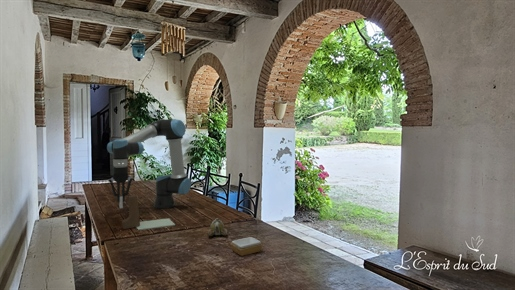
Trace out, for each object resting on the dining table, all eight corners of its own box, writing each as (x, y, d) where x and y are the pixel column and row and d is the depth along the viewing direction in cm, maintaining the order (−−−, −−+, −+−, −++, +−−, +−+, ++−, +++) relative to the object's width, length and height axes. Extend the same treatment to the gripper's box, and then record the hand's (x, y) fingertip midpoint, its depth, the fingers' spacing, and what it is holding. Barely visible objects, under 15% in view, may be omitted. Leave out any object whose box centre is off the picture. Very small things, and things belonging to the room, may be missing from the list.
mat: (168, 219, 206) (168, 218, 206) (175, 225, 193) (175, 224, 193) (134, 223, 196) (133, 222, 196) (137, 230, 183) (137, 229, 183)
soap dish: (251, 246, 161) (251, 236, 161) (263, 252, 153) (263, 241, 153) (229, 250, 154) (229, 240, 154) (240, 257, 146) (240, 246, 146)
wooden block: (123, 229, 184) (120, 198, 183) (122, 227, 188) (119, 197, 187) (140, 226, 189) (137, 195, 187) (138, 224, 193) (135, 194, 191)
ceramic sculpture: (226, 214, 186) (227, 223, 171) (226, 229, 187) (227, 239, 172) (207, 215, 184) (207, 224, 169) (207, 230, 185) (207, 240, 170)
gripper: (108, 167, 178) (109, 210, 179) (133, 166, 184) (134, 207, 185) (107, 166, 184) (108, 207, 186) (131, 165, 191) (132, 205, 192)
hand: (121, 207), depth 185 cm, fingers closed
